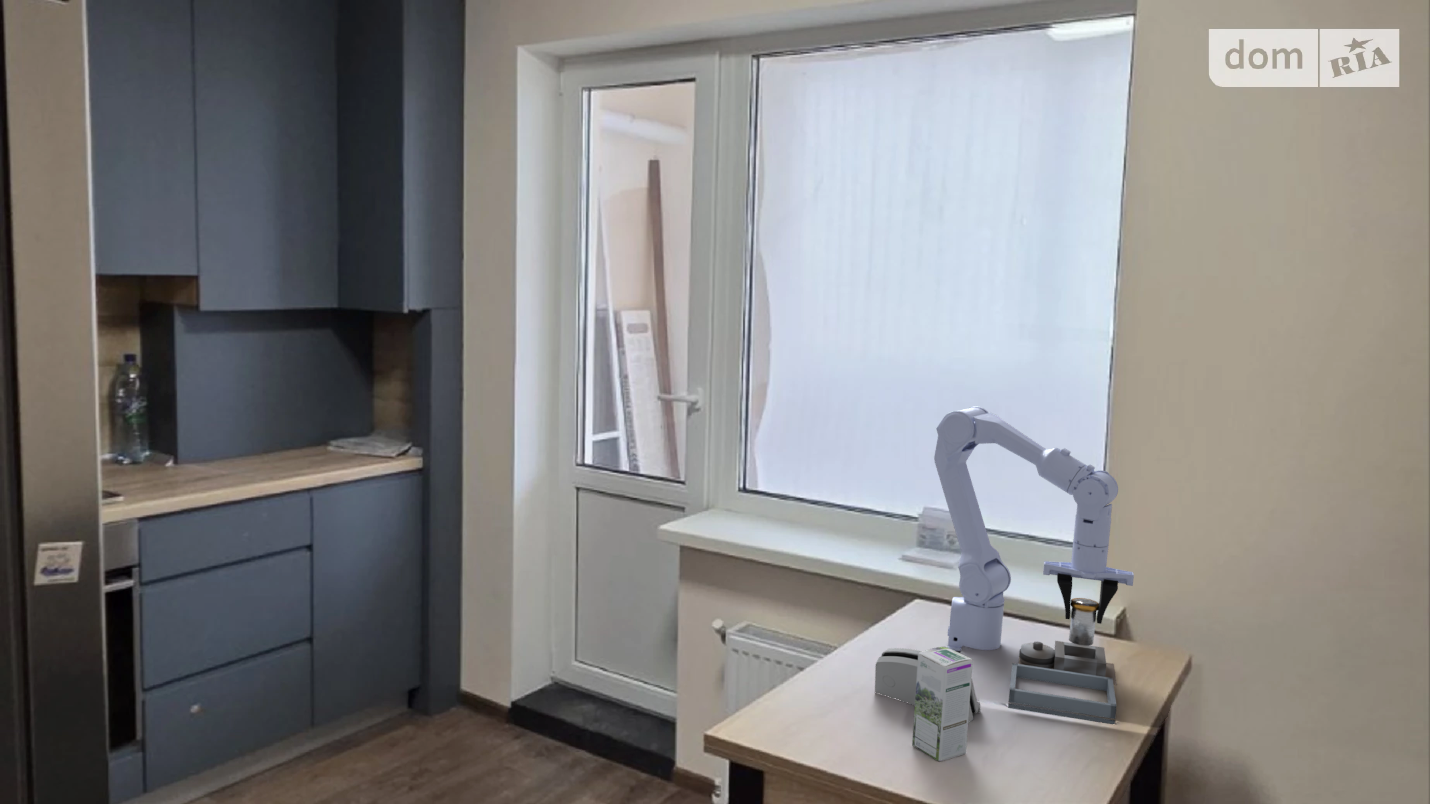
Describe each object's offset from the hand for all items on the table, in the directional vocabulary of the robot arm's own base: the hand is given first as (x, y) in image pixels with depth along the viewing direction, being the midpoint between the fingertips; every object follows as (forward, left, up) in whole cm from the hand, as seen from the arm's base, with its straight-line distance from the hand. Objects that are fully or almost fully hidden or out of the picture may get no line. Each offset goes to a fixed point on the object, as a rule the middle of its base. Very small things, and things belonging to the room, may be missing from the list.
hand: (1083, 619), depth 186 cm
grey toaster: (-24, -24, -10) cm, 35 cm away
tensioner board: (-2, 0, -10) cm, 10 cm away
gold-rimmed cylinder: (0, 0, -4) cm, 4 cm away
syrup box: (-20, -39, -10) cm, 45 cm away
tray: (-3, -14, -10) cm, 17 cm away
